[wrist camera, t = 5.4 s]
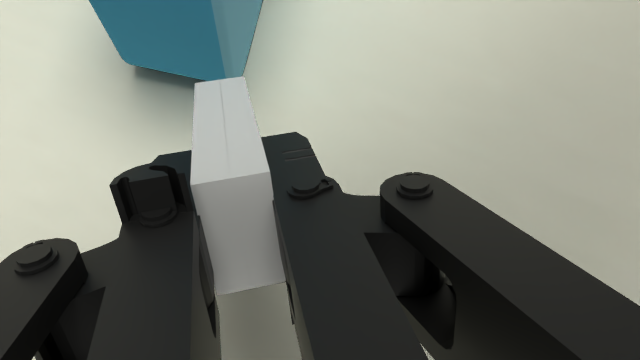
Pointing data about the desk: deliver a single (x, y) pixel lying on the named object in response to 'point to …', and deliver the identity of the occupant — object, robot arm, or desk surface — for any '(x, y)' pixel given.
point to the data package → (182, 34)
